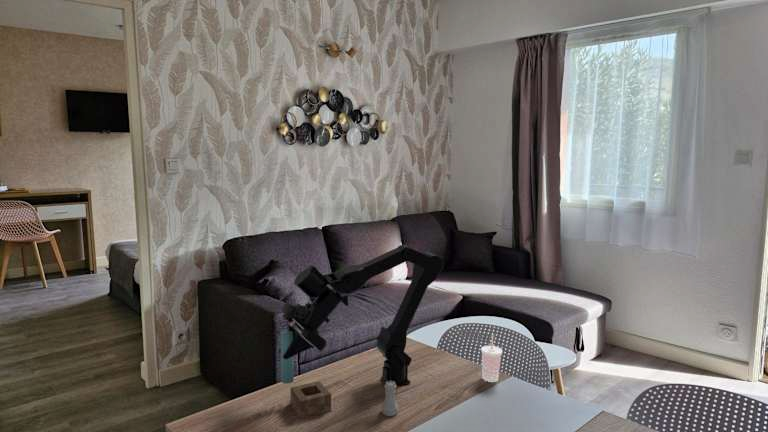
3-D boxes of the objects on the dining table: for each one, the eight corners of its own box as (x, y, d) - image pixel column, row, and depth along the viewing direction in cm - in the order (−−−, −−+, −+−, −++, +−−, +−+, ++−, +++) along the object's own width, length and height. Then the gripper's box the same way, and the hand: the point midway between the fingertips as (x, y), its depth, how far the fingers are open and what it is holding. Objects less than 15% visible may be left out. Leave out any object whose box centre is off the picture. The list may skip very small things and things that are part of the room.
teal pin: (291, 376, 134) (290, 329, 132) (295, 381, 131) (294, 333, 129) (279, 379, 132) (278, 331, 131) (283, 384, 130) (282, 336, 128)
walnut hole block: (319, 396, 136) (319, 381, 136) (331, 410, 129) (331, 394, 129) (290, 403, 132) (290, 387, 132) (301, 418, 125) (301, 401, 125)
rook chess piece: (396, 418, 127) (397, 387, 125) (379, 415, 127) (380, 385, 126) (399, 409, 131) (400, 379, 130) (382, 406, 132) (383, 377, 131)
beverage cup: (504, 382, 147) (506, 336, 145) (483, 383, 146) (486, 337, 144) (496, 373, 153) (498, 329, 151) (476, 374, 152) (479, 329, 150)
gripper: (289, 281, 138) (249, 326, 135) (314, 300, 122) (270, 352, 119) (316, 305, 143) (279, 349, 140) (343, 326, 127) (302, 376, 123)
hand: (281, 355), depth 130 cm, fingers closed on teal pin, 3 cm apart
